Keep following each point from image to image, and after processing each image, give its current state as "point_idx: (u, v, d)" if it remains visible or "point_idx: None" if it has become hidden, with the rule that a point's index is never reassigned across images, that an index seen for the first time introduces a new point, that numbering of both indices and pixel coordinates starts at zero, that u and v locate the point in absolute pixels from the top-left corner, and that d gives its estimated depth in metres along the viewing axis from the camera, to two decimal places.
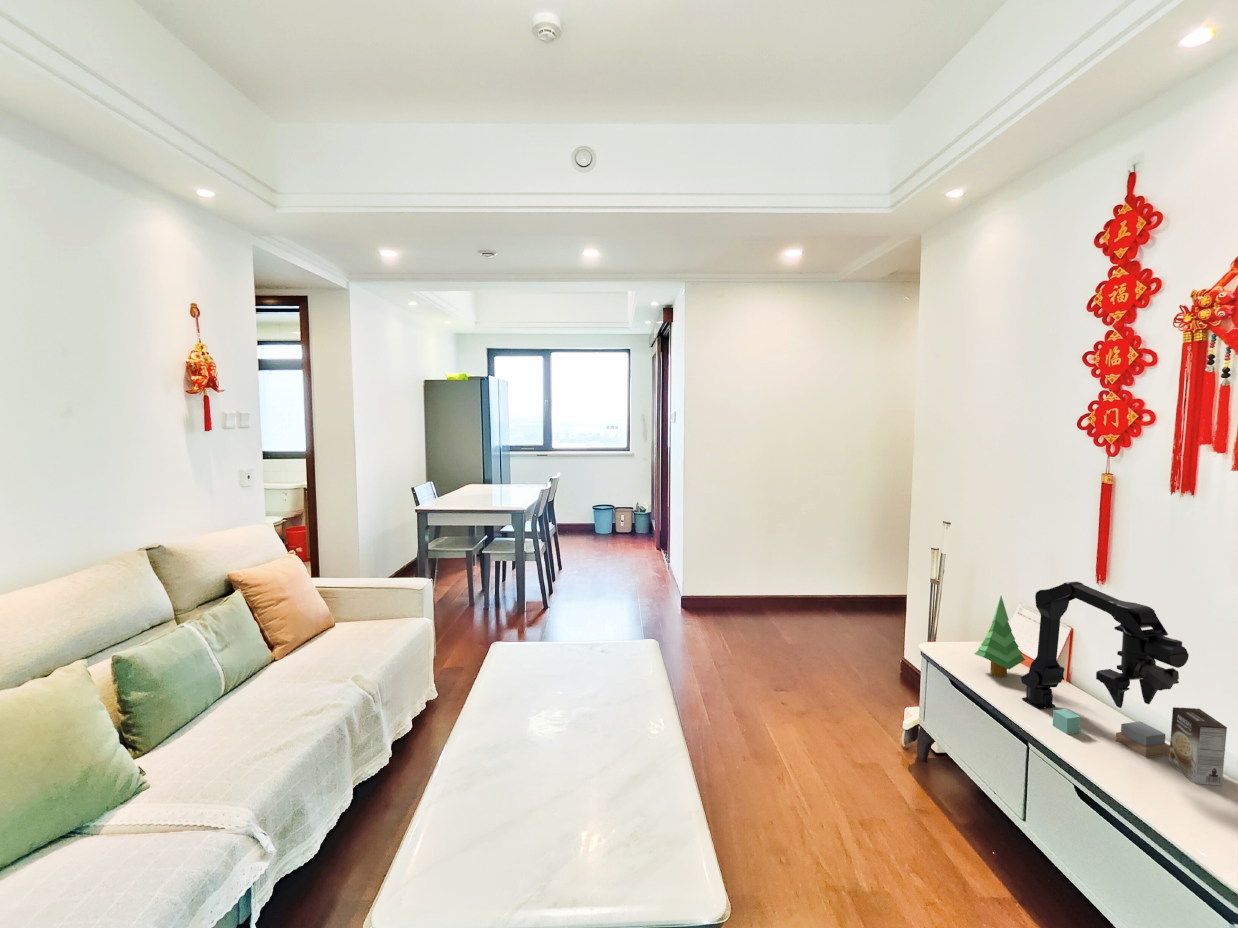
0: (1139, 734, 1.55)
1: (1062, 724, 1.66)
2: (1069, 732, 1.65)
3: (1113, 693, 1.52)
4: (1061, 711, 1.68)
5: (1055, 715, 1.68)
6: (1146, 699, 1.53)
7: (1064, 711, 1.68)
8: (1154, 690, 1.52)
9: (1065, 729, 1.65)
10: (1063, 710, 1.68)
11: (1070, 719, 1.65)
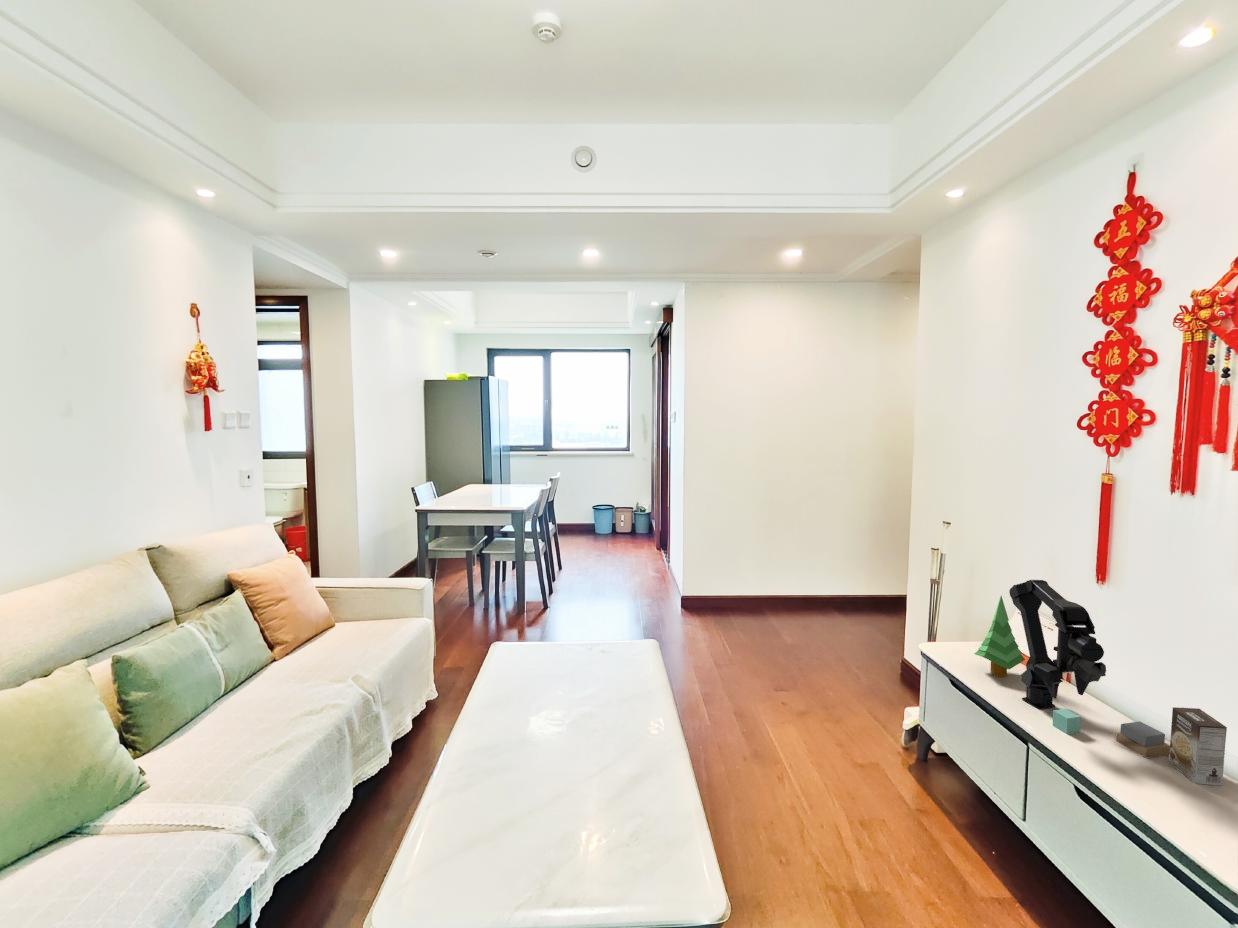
0: (1139, 734, 1.55)
1: (1062, 724, 1.66)
2: (1069, 732, 1.65)
3: (1049, 685, 1.66)
4: (1061, 711, 1.68)
5: (1055, 715, 1.68)
6: (1079, 690, 1.67)
7: (1064, 711, 1.68)
8: (1086, 682, 1.66)
9: (1065, 729, 1.65)
10: (1063, 710, 1.68)
11: (1070, 719, 1.65)
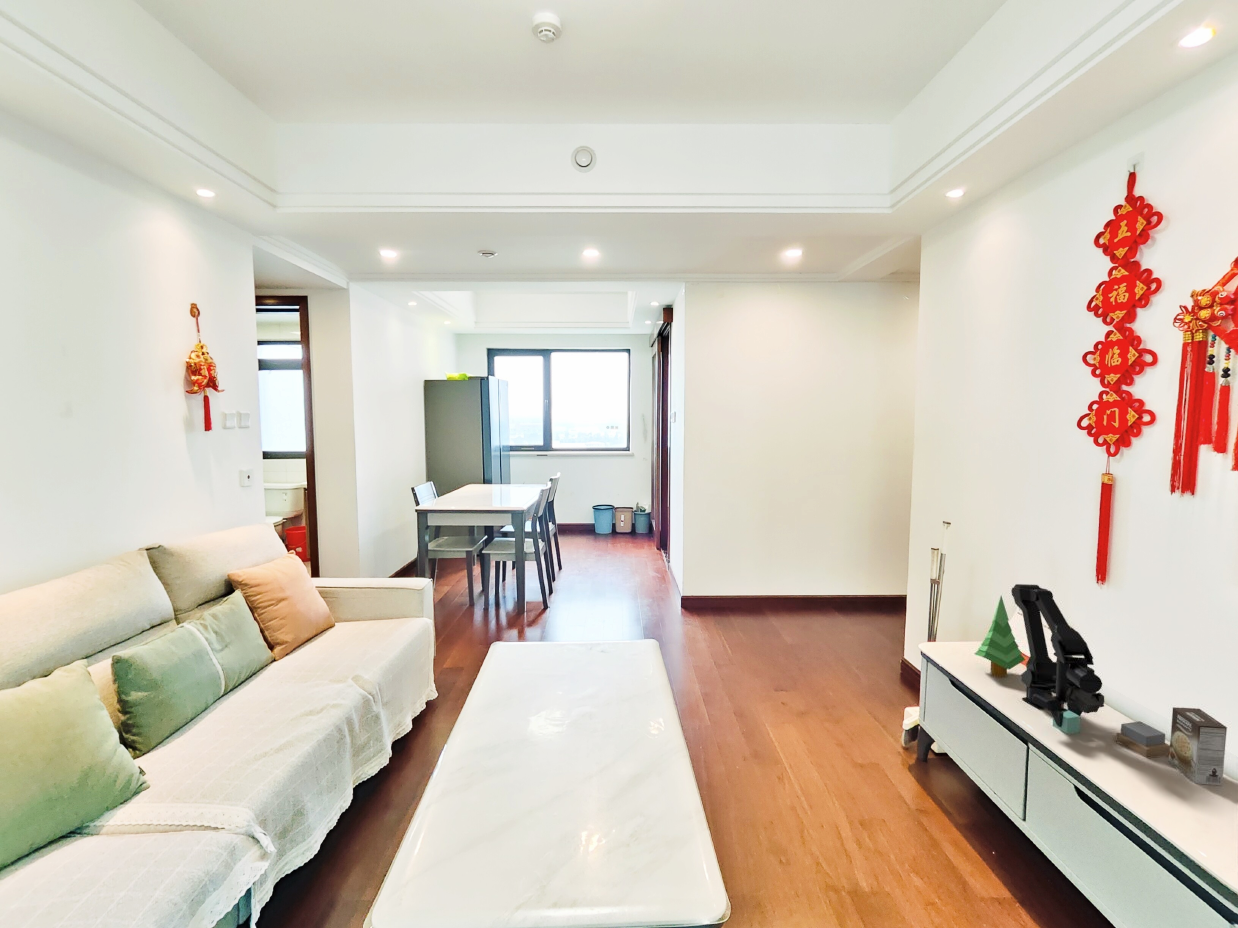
0: (1139, 734, 1.55)
1: (1062, 723, 1.66)
2: (1069, 732, 1.65)
3: (1054, 714, 1.67)
4: None
5: None
6: None
7: None
8: (1079, 713, 1.66)
9: (1065, 729, 1.65)
10: None
11: (1070, 719, 1.65)
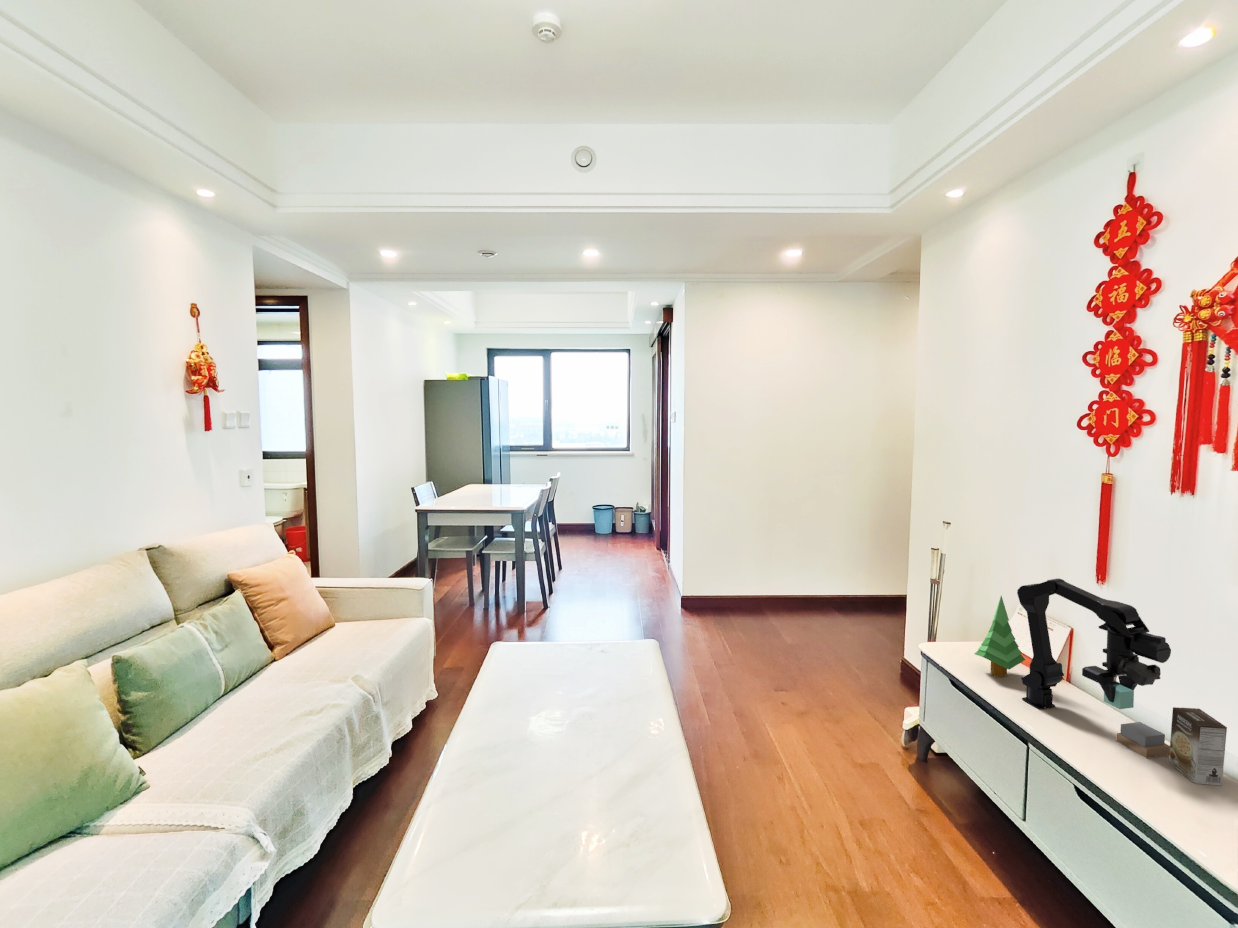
0: (1138, 734, 1.55)
1: (1115, 698, 1.58)
2: (1122, 707, 1.57)
3: (1105, 688, 1.59)
4: None
5: None
6: None
7: (1116, 686, 1.60)
8: (1132, 687, 1.58)
9: (1118, 704, 1.57)
10: None
11: (1123, 693, 1.56)
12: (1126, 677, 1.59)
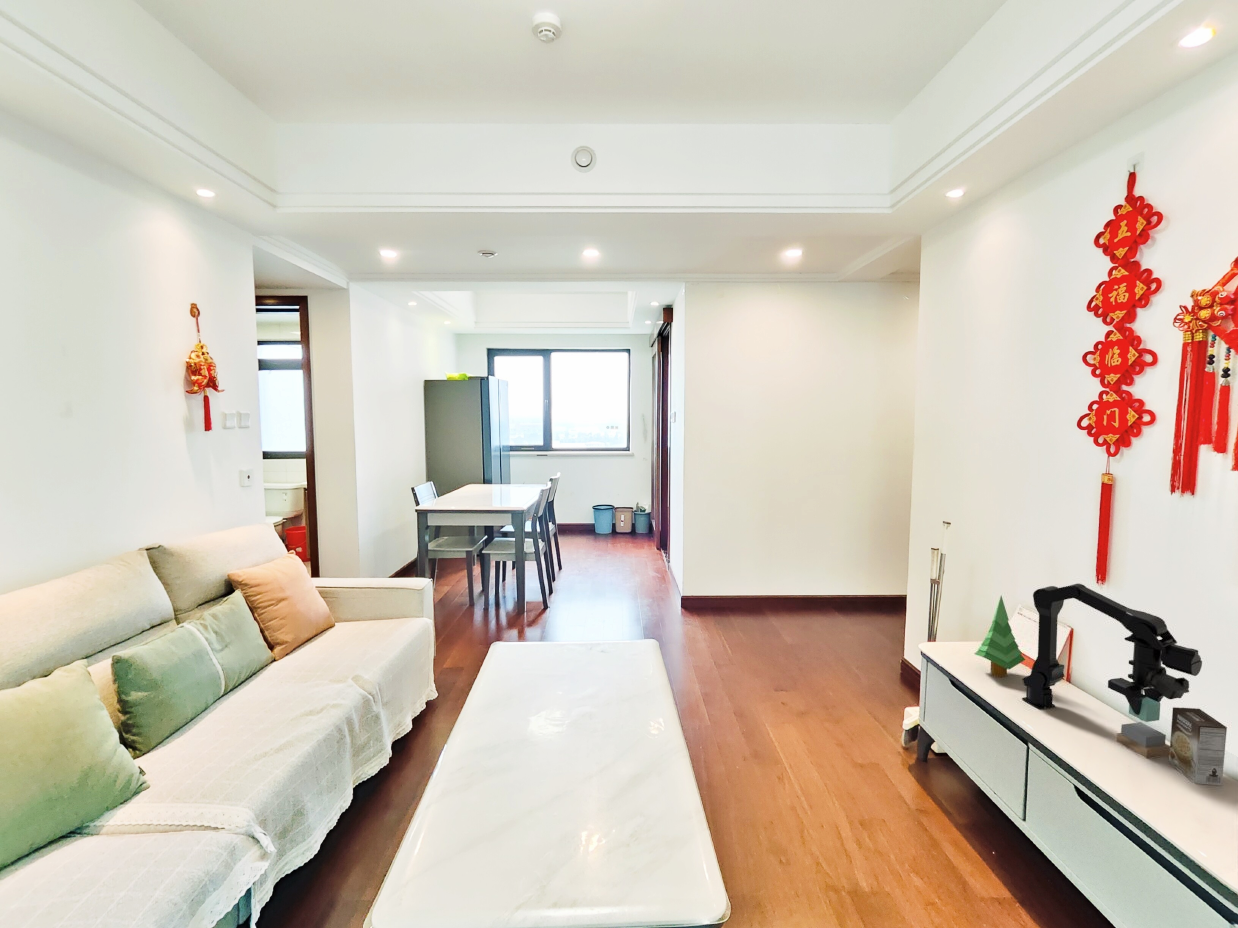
0: (1139, 735, 1.55)
1: (1141, 711, 1.55)
2: (1148, 720, 1.54)
3: (1131, 700, 1.56)
4: None
5: None
6: None
7: None
8: (1158, 699, 1.55)
9: (1144, 717, 1.54)
10: None
11: (1150, 706, 1.54)
12: (1152, 689, 1.57)
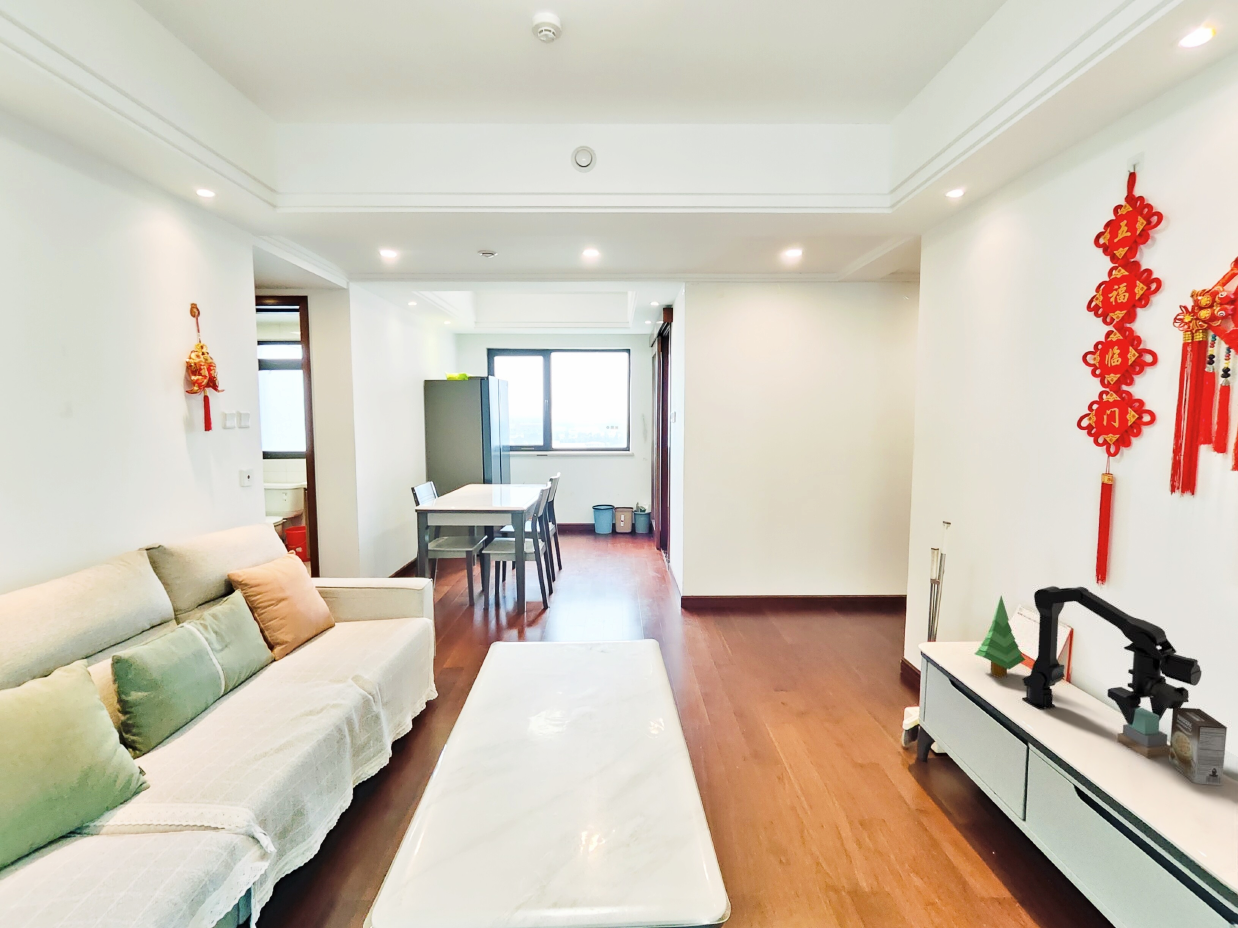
0: (1141, 735, 1.55)
1: (1139, 723, 1.55)
2: (1147, 732, 1.54)
3: (1124, 710, 1.56)
4: (1137, 710, 1.57)
5: None
6: None
7: (1141, 710, 1.57)
8: (1164, 707, 1.56)
9: (1143, 729, 1.55)
10: (1140, 709, 1.58)
11: (1149, 718, 1.54)
12: None
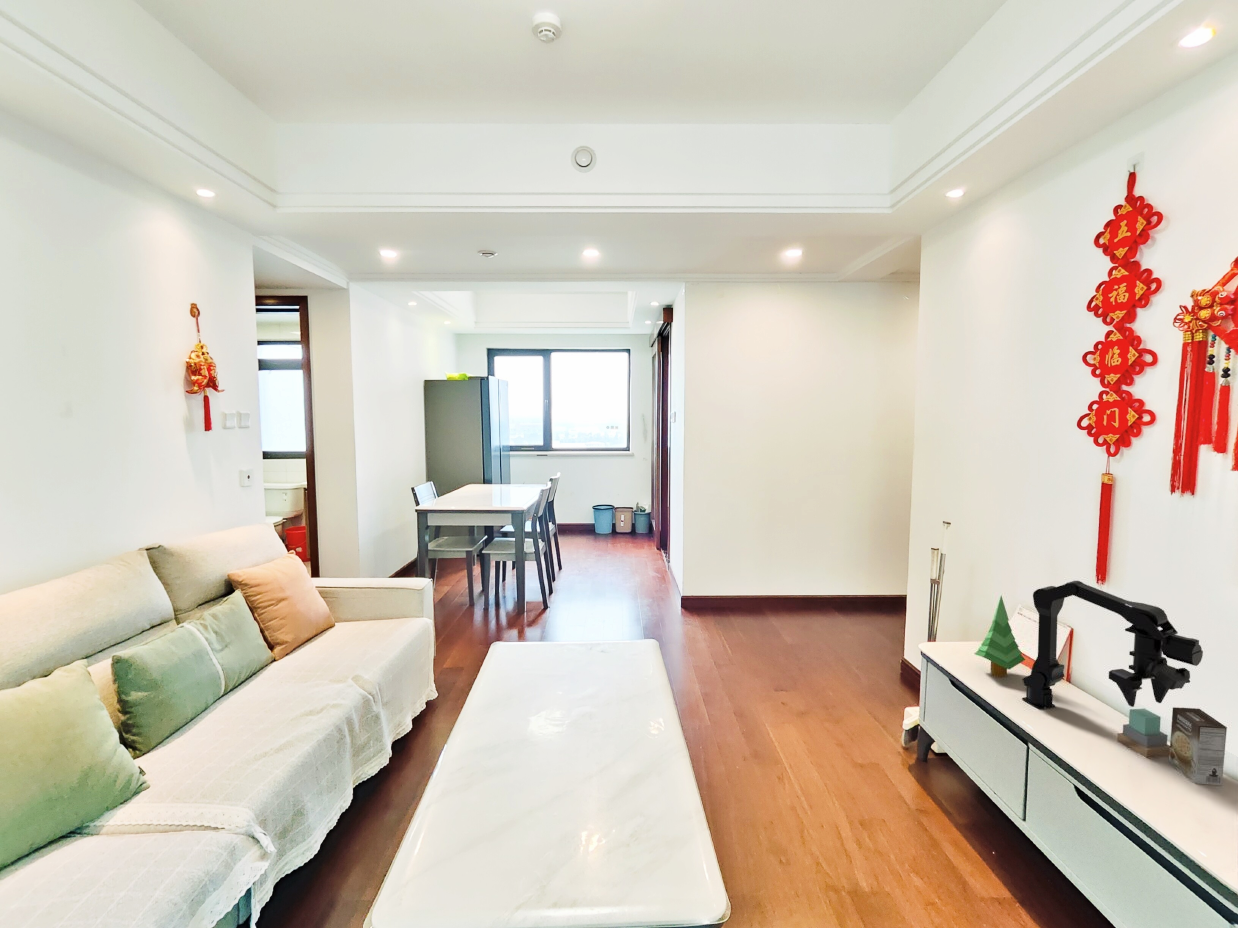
0: (1141, 735, 1.55)
1: (1140, 724, 1.55)
2: (1147, 733, 1.54)
3: (1125, 692, 1.56)
4: (1138, 711, 1.57)
5: (1132, 714, 1.58)
6: (1157, 698, 1.57)
7: (1142, 711, 1.57)
8: (1165, 689, 1.55)
9: (1143, 730, 1.55)
10: (1141, 710, 1.57)
11: (1149, 719, 1.54)
12: None
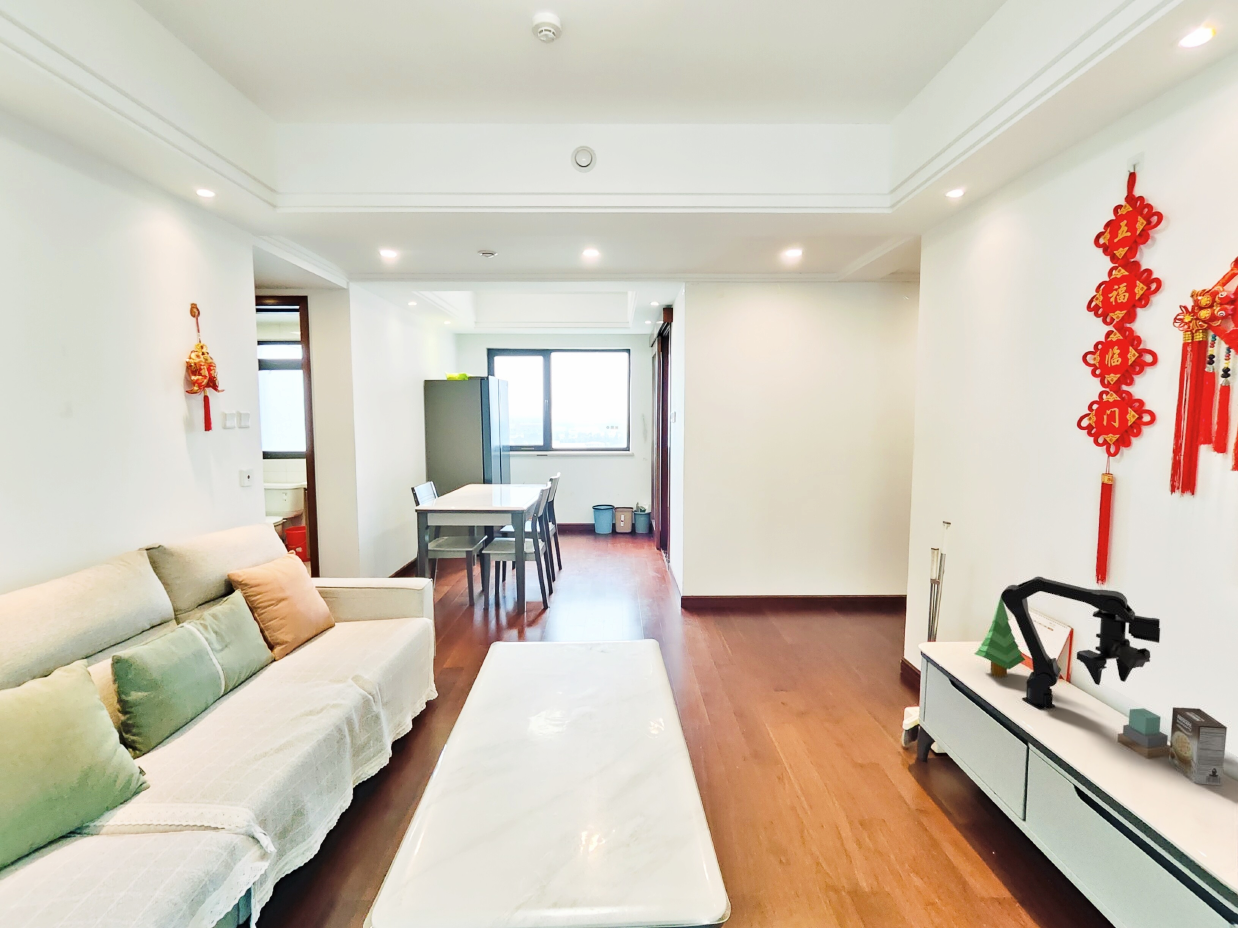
0: (1141, 735, 1.54)
1: (1140, 724, 1.55)
2: (1148, 733, 1.54)
3: (1092, 671, 1.68)
4: (1138, 711, 1.57)
5: (1132, 714, 1.57)
6: (1122, 677, 1.69)
7: (1142, 711, 1.57)
8: (1129, 669, 1.67)
9: (1143, 730, 1.54)
10: (1141, 710, 1.57)
11: (1149, 719, 1.54)
12: None
